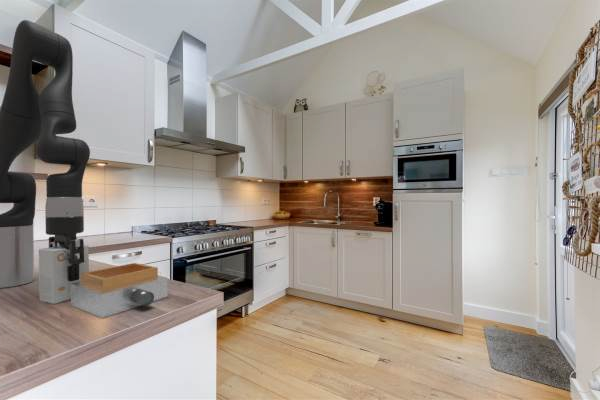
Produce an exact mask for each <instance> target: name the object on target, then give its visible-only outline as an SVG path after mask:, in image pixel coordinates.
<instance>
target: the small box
mask: <svg viewBox="0 0 600 400" xmlns="http://www.w3.org/2000/svg"><path fill="white" fill-rule="evenodd" d="M63 251H65V252H66V253H68V254H69V253H70V248H69V250H67V249H59V248H58V247H55V248H54V247H50V248H49V247H44V248H39V249H38V280H39V281H38V282H39V283H38V284H39V288H38V289H39V302H44V303H47V302H48V304H52V305H55V304H58V303H62V302H65V301H69V300H71V284H72V283H76V282H81V273H85V272H90V266H89V265H90V263H89V262H90V261H89V257H90V254H89V253H90V251H89V245H87V244H84V263H81V264H79V279H78V280H75V281H68V279H67V266H68V265H67V262H66V260H65V259H63ZM79 257H80V255H79Z"/></svg>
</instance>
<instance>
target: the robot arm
mask: <svg viewBox="0 0 600 400" xmlns="http://www.w3.org/2000/svg"><path fill="white" fill-rule="evenodd" d="M12 43H13V44H12V51H11V57H10V59H11V60H10V67H9V73H8V79H7V83H6V88H5V91H4V94H3V100H2V102H1V106H0V204H13V206H12V208H10V209H9V210H7V211H5V212H3V213H1V214H0V289H3V288H12V287H17V286H22V285H26V284H29V283H32V282H34V280H35V277H34V276H35V275H34V268H35V266H34V264H35V263H34V261H35V258H34V251H35V250H34V219H35V215H36V199H37V183H36V180H35V178H34V175H32V174H30V173H27V172H14V171H13V172H12V171H9V169H10V168H11V165H13V162H14V161H15V160H16V158H17V157H18V156H19V155H20V154H22V153H23V152H25V151H26V150H27V149H28V148H30V147H31V146H32V145H34V144H35V143H36V142H37V143H36V145H35V146H36V147H35V153H36V156H37V157H38V158H39V160H41V161H42V162H44V163H45V164H51V165H52V164H53V165H66V166H70V167H69V168H68V170H67V171H66V172H61V173H52V174H49V175H47V177H46V182H45V183H46V189H45V190H46V199H45V200H46V202H45V206H44V208H45V212H44V213H45V214H44V215H45V234H46V236H47V235H48V236H49V237H48V248H50V247H54V248H55V247H58V248H59V249H67V250H69V248H70V253H69V254H68V253H66V252H65V251H63V259H65V260H66V262H67V265H68V266H67V279H68V281H75V280H78V279H79V264H81V263H84V245H85V244H84V242H85V241H84V238H77V234H81V233H83V232H84V231H85V225H84V224H85V221H84V218H85V216H84V214H85V212H84V211H85V210H84V208H85V207H84V202H83V179H84V176H85V175H84V174H85V172H86V168H87V165H88V162H89V159H90V157H91V149H90V146H89V145H88V144H87V142H86V141H84V140H83V139H80V138H73V137H65V136H60V135H66V134H72V133H74V132H75V131H76V129H77V120H76V119H77V118H76V115H75V109H74V103H73V73H74V72H73V67H74V63H73V62H74V61H73V60H74V57H73V56H74V55H73V50H72V44H71V43H70V41H69V40H68V39H67V38H66V37H64V36H62V35H61V34H58V33H57V32H54V31H52V30H50V29H48V28H47V27H44V26H42V25H40V24H38V23H36V22H33V21H31V20H27V19H24V20H23V19H22V20H21V21H20V22H19V23H18V25H17V27H16V29H15V31H14V37H13V42H12ZM33 61H34V62H36V63H39V64H42V65H45V66H47V67H50V68H53V70H54V78H52V80H51V81H50V82H49V83H48V84H47V85H46V86H45V87H44V88H43V89H42V91H41V92H40V94H39V91H38V90H37V87H36V85H35V83H34V79H33V72H32V67H33V66H32V65H33ZM58 135H59V136H58ZM79 255H80V257H79Z"/></svg>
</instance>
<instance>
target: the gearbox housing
mask: <svg viewBox="0 0 600 400" xmlns="http://www.w3.org/2000/svg"><path fill="white" fill-rule="evenodd" d="M158 269H159V268H158V266H157V267H156V266H152V265H147V264H142V263H137V262H132V263H127V264H122V265H118V266H111V267H106V268H102V269H96V270H91V271H90V270H89V272H85V273H81V282H76V283H72V284H71V299H70V305H71V306H73V307H74V308H77V309H80V310H82V311H84V312H87V313H89V314H91V315H93V316H96V317H98V318H101V319H104V318H107V317H111V316H113V315H116V314H120V313H123V312H125V311H128V310H131V309H135V308H137V307H140V306H145V307H146V306H147V307H148V306H149V305H151V304H152V303H154V302H156V301H159V300H162V299H164V298H168V277H167V276H163V275H159V271H158Z"/></svg>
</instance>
